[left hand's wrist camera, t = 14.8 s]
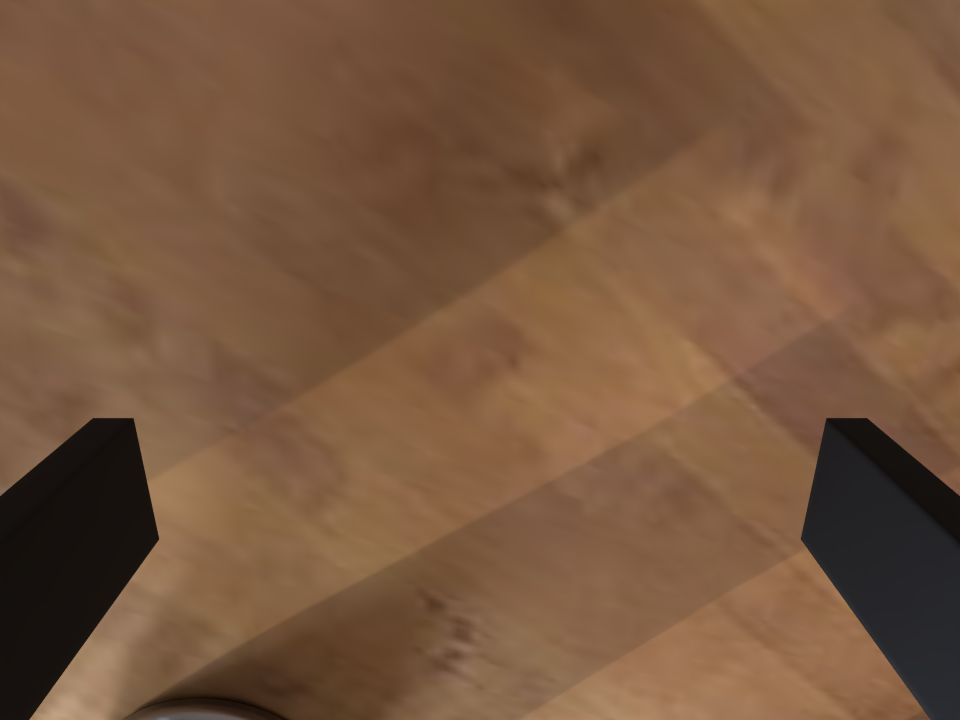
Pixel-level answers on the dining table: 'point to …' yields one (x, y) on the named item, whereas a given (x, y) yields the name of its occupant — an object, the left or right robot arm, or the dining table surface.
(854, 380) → the dining table surface
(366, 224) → the dining table surface
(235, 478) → the dining table surface
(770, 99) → the dining table surface
